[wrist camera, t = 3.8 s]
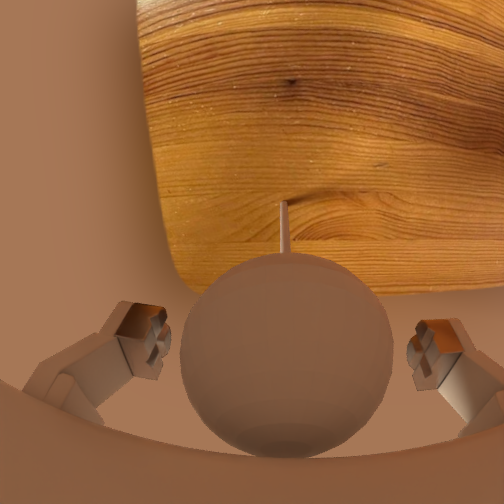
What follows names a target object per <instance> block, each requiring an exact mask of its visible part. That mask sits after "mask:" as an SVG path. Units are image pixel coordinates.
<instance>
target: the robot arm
mask: <svg viewBox="0 0 504 504" xmlns="http://www.w3.org/2000/svg"><path fill="white" fill-rule="evenodd" d="M166 319H167V313H166V309H165V308H164V307H160V306H154V305H147V304H141V303H133V302H127V301H121V302H119V303H118V304H117V306H116V307H115V309H114V310H113V312H112V313H111V315H110V316H109V318H108V319H107V321H106V322H105V324H104V326H103V327H102V329H101V330H100V332H99V333H93V334H91V335H89V336H88V337H86V338H84V339H82V340H80V341H78V342H77V343H75V344H73V345H71V346H70V347H68V348H66V349H64V350H62V351H61V352H59V353H57V354H55V355H53V356H51V357H50V358H48V359H46V360H44V361H42V362H41V363H39V365H38V367H37V368H36V369H35V371H34V372H33V374H32V376H31V377H30V379H29V380H28V382H27V383H26V385H25V387H24V388H23V390H22V391H20V390H18V389H16V388H14V387H13V386H11V385H9V384H7V383H5V382H4V381H2V380H0V504H504V368H503V367H501V366H500V365H499V364H497V363H496V362H495V361H493V360H492V359H491V358H489V357H488V356H487V355H486V354H484V353H483V352H481V351H480V350H478V351H477V350H476V348H475V347H474V344H473V343H472V341H471V339H470V337H469V335H468V334H467V332H466V330H465V328H464V326H463V325H462V323H461V322H460V320H459V319H457V318H450V319H434V320H421V321H420V322H419V323H418V324H417V326H416V328H415V329H416V333H417V334H416V335H415V336H413V337H412V338H411V340H410V341H409V344H408V346H407V361H408V364H409V366H410V367H411V368H413V369H414V373H413V375H412V376H413V379H414V383H415V386H416V389H417V391H422V390H432V389H438V391H439V392H440V394H441V395H442V396H443V397H444V398H445V399H446V400H447V401H448V402H449V404H450V405H451V406H452V407H453V408H454V409H455V410H456V411H457V412H458V414H459V415H460V416H461V417H462V418H463V419H464V420H465V422H466V423H467V425H466V426H465V427H464V428H463V429H462V430H461V431H460V433H459V434H458V437H459V438H457V439H453V440H449V441H445V442H441V443H437V444H432V445H428V446H423V447H419V448H412V449H407V450H401V451H395V452H388V453H381V454H372V455H362V456H351V457H336V458H335V457H334V458H274V457H258V456H246V455H236V454H227V453H219V452H212V451H205V450H199V449H193V448H188V447H182V446H177V445H173V444H168V443H163V442H159V441H155V440H151V439H146V438H143V437H139V436H135V435H132V434H128V433H125V432H121V431H118V430H115V429H112V428H109V427H106V426H103V425H104V421H103V419H102V417H101V416H100V415H99V413H98V412H97V411H96V408H97V407H98V406H99V405H100V404H101V403H103V402H104V401H105V400H107V399H108V398H109V397H110V396H111V395H113V394H114V393H115V392H116V391H118V390H119V389H120V388H121V387H122V386H123V385H124V384H126V383H127V382H128V381H130V380H131V379H132V378H133V376H135V377H141V378H146V379H152V380H158V377H159V374H160V372H161V369H162V367H163V362H162V359H161V358H163V357H164V356H166V355H167V354H168V351H169V349H170V343H171V331H170V327H169V326H168V325H167V324H166V323H165V321H166Z"/></svg>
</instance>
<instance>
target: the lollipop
mask: <svg viewBox="0 0 504 504" xmlns="http://www.w3.org/2000/svg"><path fill="white" fill-rule="evenodd" d="M180 363H181V374H182V379H183V384H184V386H185V390H186V392H187V395H188V398H189V400H190V402H191V404H192V406H193V408H194V409H195V411H196V412H197V414H198V415H199V417H200V418H201V420H202V421H203V423H204V424H205V425H206V426H207V427H208V428H209V429H210V430H211V431H212V432H214V433H215V434H216V435H217V436H218V437H220V438H221V439H222V440H223V441H225V442H226V443H228V444H229V445H231V446H233V447H235V448H237V449H239V450H242V451H244V452H247V453H249V454H252V455H255V456H258V457H274V458H307V457H311V456H315V455H318V454H320V453H323V452H325V451H328V450H330V449H332V448H335V447H337V446H339V445H340V444H342V443H344V442H345V441H347V440H348V439H349V438H350V437H351V436H353V435H354V434H355V433H356V432H357V431H359V430H360V429H361V428H362V427H363V426H364V425H365V424H366V423H367V422H368V421H369V419H370V418H371V417H372V415H373V414H374V412H375V411H376V409H377V408H378V406H379V405H380V403H381V402H382V400H383V397H384V394H385V391H386V389H387V386H388V383H389V380H390V377H391V374H392V364H393V337H392V332H391V328H390V324H389V320H388V317H387V314H386V311H385V309H384V307H383V306H382V304H381V303H380V301H379V300H378V298H377V296H376V295H375V294H374V293H373V292H372V291H371V290H370V289H369V287H367V286H366V285H365V284H364V283H363V282H362V281H361V280H360V279H358V278H357V277H356V276H355V275H354V274H352V273H351V272H350V271H349V270H347V269H346V268H344V267H342V266H340V265H338V264H337V263H335V262H333V261H331V260H328V259H324V258H320V257H317V256H313V255H309V254H301V253H291V248H290V233H289V219H288V205H287V202H286V201H282V202H281V203H280V253H275V254H269V255H265V256H261V257H257V258H254V259H250V260H248V261H246V262H243V263H241V264H239V265H237V266H235V267H233V268H231V269H230V270H229V271H227V272H226V273H224V274H223V275H222V276H220V277H219V278H218V279H217V280H216V281H215V282H214V283H212V284H211V285H210V286H209V288H208V289H207V290H206V291H205V292H204V293H203V294H202V296H201V297H200V298H199V299H198V301H197V302H196V304H195V305H194V306H193V307H192V309H191V311H190V313H189V316H188V318H187V320H186V322H185V326H184V331H183V335H182V340H181V348H180Z"/></svg>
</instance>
